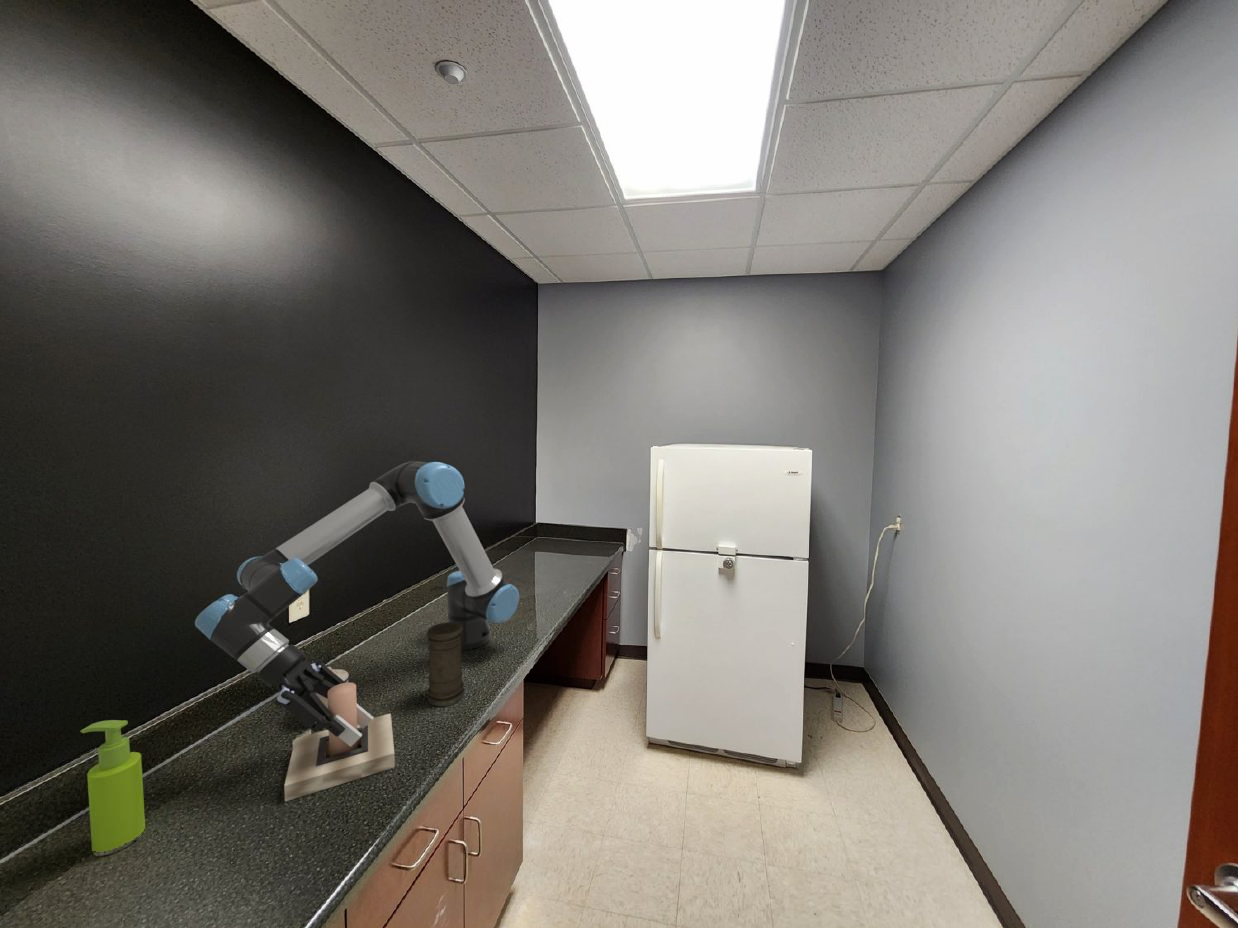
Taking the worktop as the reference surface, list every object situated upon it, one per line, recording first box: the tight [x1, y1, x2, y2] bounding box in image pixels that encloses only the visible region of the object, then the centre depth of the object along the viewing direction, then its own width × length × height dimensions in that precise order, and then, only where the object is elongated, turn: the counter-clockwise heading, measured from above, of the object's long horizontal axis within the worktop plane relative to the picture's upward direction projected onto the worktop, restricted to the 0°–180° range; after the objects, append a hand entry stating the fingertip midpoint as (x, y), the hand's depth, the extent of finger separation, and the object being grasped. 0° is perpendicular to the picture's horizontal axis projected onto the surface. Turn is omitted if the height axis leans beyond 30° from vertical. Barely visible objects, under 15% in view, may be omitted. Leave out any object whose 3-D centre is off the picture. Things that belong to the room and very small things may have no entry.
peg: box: [328, 682, 359, 757], centre depth 93 cm, size 5×5×14 cm
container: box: [426, 621, 465, 707], centre depth 116 cm, size 9×9×18 cm
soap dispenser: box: [80, 719, 146, 852], centre depth 74 cm, size 6×7×20 cm
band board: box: [284, 713, 396, 803], centre depth 94 cm, size 18×15×3 cm
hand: (362, 731), depth 94 cm, fingers closed on peg, 5 cm apart
